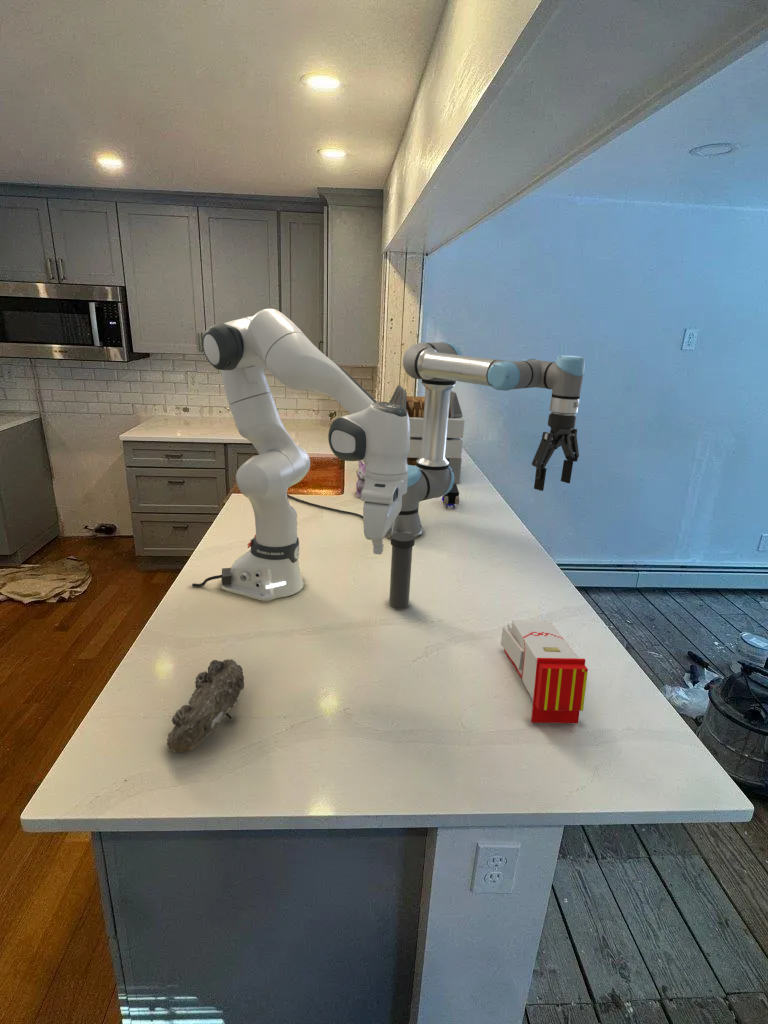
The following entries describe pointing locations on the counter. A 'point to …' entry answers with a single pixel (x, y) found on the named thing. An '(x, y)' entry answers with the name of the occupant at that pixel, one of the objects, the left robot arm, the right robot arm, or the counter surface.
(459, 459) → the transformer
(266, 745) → the counter surface
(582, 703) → the toy
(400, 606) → the dark gray cylinder
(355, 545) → the counter surface
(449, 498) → the figurine character
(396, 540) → the lid
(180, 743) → the fossil
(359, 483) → the figurine
